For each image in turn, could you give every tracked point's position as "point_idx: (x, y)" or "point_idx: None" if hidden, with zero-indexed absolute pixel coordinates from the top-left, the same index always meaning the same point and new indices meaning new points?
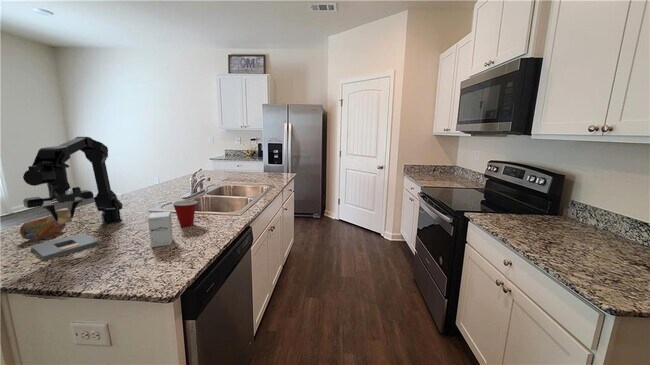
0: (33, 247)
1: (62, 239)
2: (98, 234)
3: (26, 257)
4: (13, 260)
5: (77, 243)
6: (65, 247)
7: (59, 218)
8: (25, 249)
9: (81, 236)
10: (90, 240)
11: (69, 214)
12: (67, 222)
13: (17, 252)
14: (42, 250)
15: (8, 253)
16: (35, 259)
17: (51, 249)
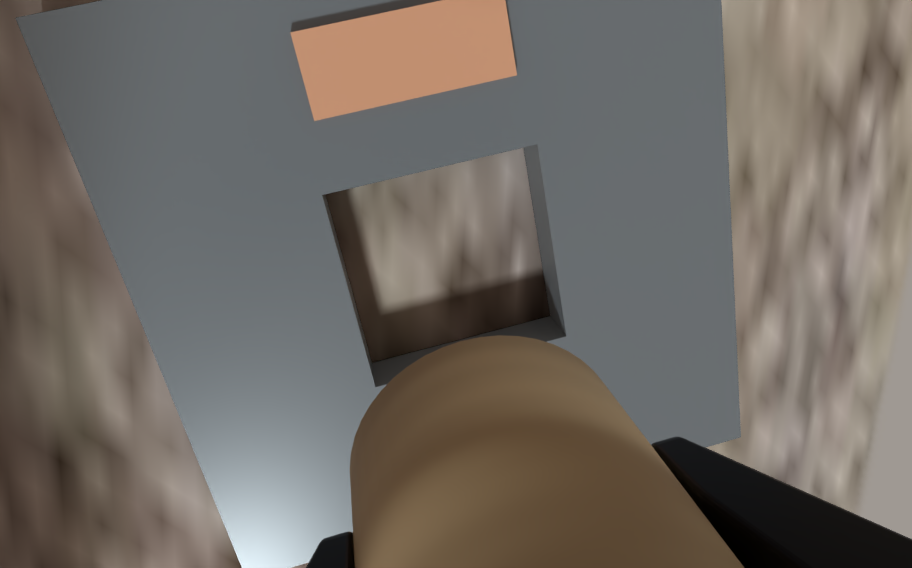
0: (730, 358)
1: None
2: (80, 506)
3: (785, 175)
4: (876, 169)
5: (314, 117)
6: (462, 45)
7: (650, 446)
8: (748, 448)
9: (266, 438)
10: (141, 152)
11: (396, 561)
12: (447, 346)
13: (808, 403)
14: (683, 166)
15: (858, 425)
16: (739, 17)
17: (604, 123)
